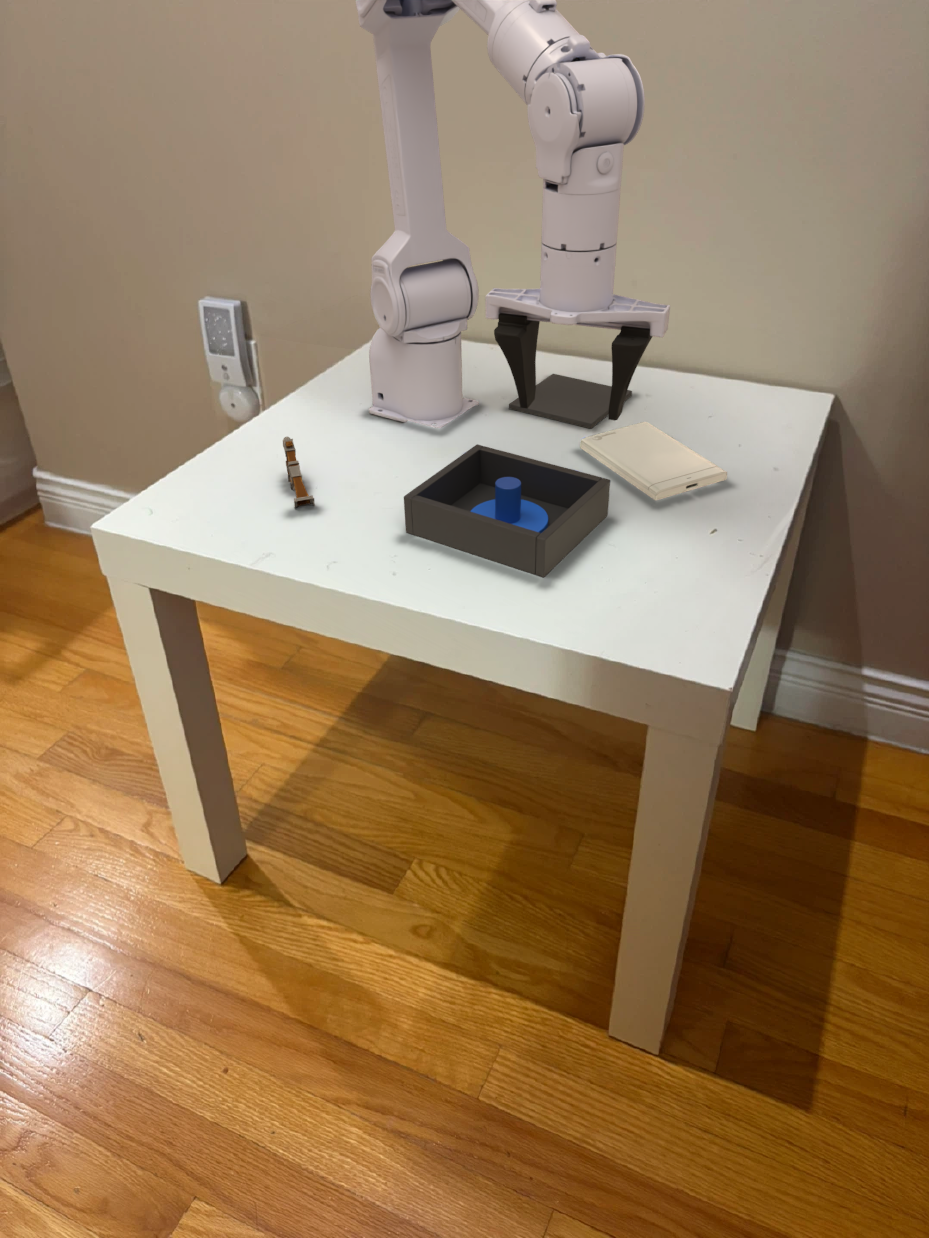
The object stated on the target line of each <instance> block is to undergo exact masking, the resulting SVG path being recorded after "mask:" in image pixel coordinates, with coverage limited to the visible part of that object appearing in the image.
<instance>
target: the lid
mask: <svg viewBox="0 0 929 1238" xmlns="http://www.w3.org/2000/svg"><path fill="white" fill-rule="evenodd" d="M470 512H473V513H477V514H480V515H483V516H487V517H490V518H493V519H496V520H500V521H503V522H506V523H510V524H513V525H516V526H519V527H523V528H526V529H529V530H533V531H536V532H539V533H542V532H543V531H544V530H545V529H547V527H548V515H547V513H546V511H545V510H544V509H543V508H542V507H540V506H539V505H537V504H535V503H533V502H530V501H526V500H522V499H521V481H520V480H519V479H517V478H514V477H503V478H500V479H498V480H497V481H496V482H495V499H494V500H489V501H486V502H483V503H481V504H479V505H477V506H476V507H474V508H473V509H472V510H471V511H470Z"/></svg>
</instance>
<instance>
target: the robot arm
mask: <svg viewBox="0 0 929 1238" xmlns="http://www.w3.org/2000/svg"><path fill="white" fill-rule="evenodd" d="M557 5H558V1H557V0H355V8H356V11H357V19H358V24H359V27H360V28H361V29H362V30H365V31H366V32H368V33H370V34H372V42H373V43H372V44H373V50H374V51H373V52H374V59H375V68H376V77H377V86H378V94H379V103H380V113H381V121H382V130H383V139H384V140H383V141H384V147H385V158H386V166H387V175H388V184H389V191H390V202H391V210H392V218H393V219H392V220H393V227H394V231H393V233H392V234H391V235H390V236H389V237H388V238H387V239H386V241H385V242H384V243H383V244H382V245H381V246H380V247H379V248H378V249H377V250H376V251H375V252H374V254H373V255H372V256H371V259H370V260H371V284H370V290H369V291H370V295H369V297H370V305H371V310H372V313H373V316H374V318H375V321H376V323H377V325H378V326H379V327H378V328H377V330H376V331H375V332H374V334H373V336H372V338H371V341H370V345H369V351H368V358H369V359H368V361H369V363H368V364H369V376H370V385H371V387H370V388H371V400H372V406H370V407H369V408H368V413H369V414H371V415H375V416H378V417H382V418H386V419H391V420H393V421H396V422H397V421H398V422H400V423H407V422H411V423H416V424H418V425H423V426H426V427H431V428H434V429H441V428H443V427H444V426H446V425H448V424H449V423H451V422H452V421H453V420H455V419H457V418H458V417H459V416H462V415H463V414H464V413H466V412H467V411H469V410H470V409H472V408H473V407H475V406H479V404H480V402H479V401H478V400H476V399H473V398H472V399H471V398H467V397H463V396H464V395H463V357H462V356H463V355H462V354H463V353H462V332H464V331H467V330H468V321H470V320H471V319H472V318H473V317H474V316H475V314H476V311H477V310H478V309H477V308H478V305H479V299H480V290H479V284H478V280H477V276H476V274H475V272H474V268H473V264H472V263H473V262H472V258H471V252H470V251H471V250H470V246H469V245H467V243H465V242H464V241H462V240H461V239H460V238H458V237H457V236H456V235H454V234H452V233H451V232H450V231H449V230H448V229H447V221H446V209H445V198H444V187H443V174H442V163H441V151H440V140H439V129H438V118H437V106H436V96H435V95H436V93H435V84H434V73H433V71H434V70H433V61H432V60H433V59H432V49H431V48H432V47H431V44H432V41H433V40H434V38H435V36H436V34H437V33H438V31H439V29H440V27H442V26H444V25H445V24H447V23H449V22H450V21H452V20H453V18H454V17H455V16H456V15H457V14H458V13H459V11H460V10H461V11H462V12H463V13H464V14H465V15H466V16H467V17H468V18H470V20H471V21H472V22H473V23H474V24H475V25H477V26H478V28H479V29H481V30H482V31H483V32H484V33H485V34H486V35H487V42H486V46H487V47H486V49H487V55H488V56H487V57H488V58H489V61H490V63H491V65H493V67H494V68H495V69H496V71H497V72H498V73H499V74H500V75H501V76H502V78H503V79H504V81H506V82H507V83H508V85H509V86H510V87H511V89H512V90H513V91H514V92H515V93H516V94H517V96H518V97H519V98H520V99H521V101H523V102H524V104H525V105H526V106H527V107H526V108H527V109H526V110H527V121H528V127H529V132H530V135H531V137H532V140H533V143H534V147H535V169H536V170H537V176H538V177H539V178H540V179H542V203H541V205H542V206H541V207H542V209H541V238H540V239H541V240H540V241H541V242H540V244H541V245H540V246H541V247H540V279H539V282H540V283H539V288H502V287H501V288H500V287H493V288H492V289H491V290H489V292H487V294H485V296H484V297H485V299H484V300H485V319H487V320H498V322H497V326H496V327H495V328H494V329H493V336H494V340H495V342H496V344H497V345H498V347H499V348H500V350H501V351H502V354H503V356H504V358H505V360H506V362H507V364H508V366H509V369H510V372H511V376H512V378H513V381H514V385H515V388H516V393H517V398H518V397H519V403H520V407H521V408H527V409H528V407H529V406H530V405H531V403H532V402H533V401H534V400H535V392H536V385H537V371H536V370H537V366H536V365H537V364H536V359H537V358H536V357H537V348H538V339H539V338H538V336H539V329H540V323H541V322H542V323H551V324H554V325H555V324H556V325H564V326H580V327H591V328H598V329H607V330H618V331H619V333H618V334H617V335H616V336H615V337H614V339H613V341H612V342H611V348H610V349H611V365H612V366H611V367H612V368H611V386H612V388H611V396H610V403H609V414H608V420H609V421H618V420H619V418H620V416H621V415H622V413H623V410H624V404H625V401H624V400H625V397H626V393H627V390H629V387H630V384H631V382H632V379H633V376H634V374H635V373H636V369H637V367H638V365H639V363H640V361H641V359H642V357H643V355H644V353H645V351H646V350H647V348H648V346H649V344H650V342H651V340H652V338H653V337H654V338H663V337H664V336H665V335H666V333H667V331H668V330H669V323H670V312H671V305H670V304H665V303H664V304H663V303H656V302H650V301H646V300H641V299H637V298H634V297H633V298H632V297H629V296H624V295H619V294H616V293H614V289H615V288H614V287H615V276H616V275H615V274H616V261H617V248H618V247H617V245H618V231H619V218H620V205H621V204H620V203H621V190H622V178H623V177H622V175H623V162H624V149H625V146H626V145H628V144H630V143H632V141H633V140H634V139H635V138H636V136H637V135H638V133H639V131H640V129H641V127H642V123H643V120H644V115H645V107H646V98H645V97H646V96H645V89H644V88H645V87H644V84H643V80H642V77H641V75H640V73H639V70H638V69H637V68H636V66H635V65H634V64H633V62H632V59H631V57H630V56H628V55H626V54H623V53H614V54H609V55H606V53H604V52H597V51H596V50H595V49H594V48H593V47H592V46H591V42H590V40H588V38H587V37H586V36H585V35H584V34H580V33H579V31H577V29H575V27H574V26H572V25H573V24H571V23H570V21H568V20H567V19H566V18H565V16H564V15H563V14H562V13H561V12H560V11H559V10H558V9H557Z"/></svg>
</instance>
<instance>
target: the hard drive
mask: <svg viewBox="0 0 929 1238" xmlns="http://www.w3.org/2000/svg"><path fill="white" fill-rule="evenodd" d="M579 448H580V449H581V450H583V451H584V452H585V453H587V454H588V455H589V456H592V458H594V459H595V460H597V461H598V462H599V463H601V464H602V465H604V466H605V467H607V468H608V469H610V470H611V471H612V472H614V473H615V474H617V475H618V476H620V477H621V478H622V479H624V480H625V481H627V483H629V484H631V485H632V486H634V487H635V488H636V489H638V490H640V491H641V492H643V493H644V494H645V495H646V496H648V497H649V498H651V499H652V500H654V501H659V500H662V499H666V498H669V497H672V496H673V497H674V496H677V495H679V494H684V493H686V492H689V491H694V490H696V489H700V488H703V487H707V486H710V485H713V484H716V483H719V482H723V481H727V478H728V471H726V470H725V469H723V468H721V467H720V466H718V465H717V464H715V463H714V462H712V461H710V460H709V459H707V458H706V457H704V456H703V455H702V454H699V452H696V451H694V450H692V449H691V447H688V446H687V445H685V444H683V443H682V442H680V441H678V440H676V439H675V438H673V437H672V436H670V435H669V434H667V433H666V432H664V431H662V430H661V429H660V428H658V427H656V426H654V425H652V424H651V423H649V422H648V421H641V422H637V423H634V424H629V425H626V426H622V427H618V428H615V429H611V430H607V431H603V432H600V433H597V434H592V435H589V436H586V437H583V438H581V439H580V444H579Z"/></svg>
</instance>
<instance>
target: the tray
mask: <svg viewBox="0 0 929 1238" xmlns="http://www.w3.org/2000/svg"><path fill="white" fill-rule="evenodd" d="M503 477H514V478H517V479H519V480H520V481H521V499H522V500H526V501H530V502H533V503H535V504H537V505H539V506H540V507H542V508H543V509H544V510H545V511H546V513H547V515H548V527H547V529H545V530H544V531H543V532H542V533H539V532H536V531H533V530H529V529H526V528H523V527H519V526H516V525H513V524H510V523H506V522H503V521H500V520H496V519H493V518H490V517H487V516H483V515H480V514H477V513H473V512H470V511H471V510H472V509H473V508H474V507H476V506H477V505H479V504H481V503H483V502H486V501H489V500H494V499H495V482H496V481H497V480H498V479H500V478H503ZM610 490H611V479H609V478H605V477H602V476H598V475H594V474H591V473H587V472H583V471H579V470H575V469H572V468H568V467H565V466H560V465H557V464H552V463H549V462H546V461H541V460H537V459H534V458H532V457H531V458H530V457H527V456H523V455H519V454H515V453H512V452H508V451H503V450H500V449H496V448H493V447H490V446H485V445H481V444H478V443H477V444H475V445H474V446H473V447H471V448H469V449H468V450H467V451H466V452H464V453H462V454H461V455H459V456H458V457H456V458H455V459H454V460H452V461H451V462H450V463H448V464H447V465H445V467H443V468H441V469H440V470H439V471H437V472H436V473H434V474H433V475H432V476H430V477H429V478H428V479H425V481H423V482H422V483H420V484H419V485H418V486H416V487H415V488H413V489H411V490H410V492H408V493H407V494H405V495H404V496H403V509H404V510H403V511H404V522H405V533H406V534H409V535H412V536H414V537H418V538H421V539H423V540H427V541H430V542H433V543H435V544H439V545H441V546H445V547H448V548H451V549H454V550H456V551H457V550H458V551H460V552H463V553H467V554H469V555H472V556H475V557H479V558H481V559H485V560H488V561H491V562H494V563H497V564H499V565H504V566H507V567H509V568H512V569H515V570H518V571H522V572H524V573H527V574H531V575H534V576H536V577H540V578H542V579H545V577H546V576H547V575H548V574H550V573H551V571H553V570H554V569H555V567H557V566H558V565H559V564H560V563H561V562H562V561H563V560H564V559H565V558H567V556H568V555H569V554H570V553H571V552H572V551H573V550H574V549H575V548H576V547H578V546H579V544H580V543H581V542H582V541H583V540H585V539H586V537H588V536H589V535H590V534H591V533H592V532H594V530H595V529H596V528H597V527H598V526H599V525H600V524H601V523H602V522H603V521H604V520H605V519H606V518H607V517H608V514H609V503H610V502H609V501H610Z"/></svg>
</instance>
